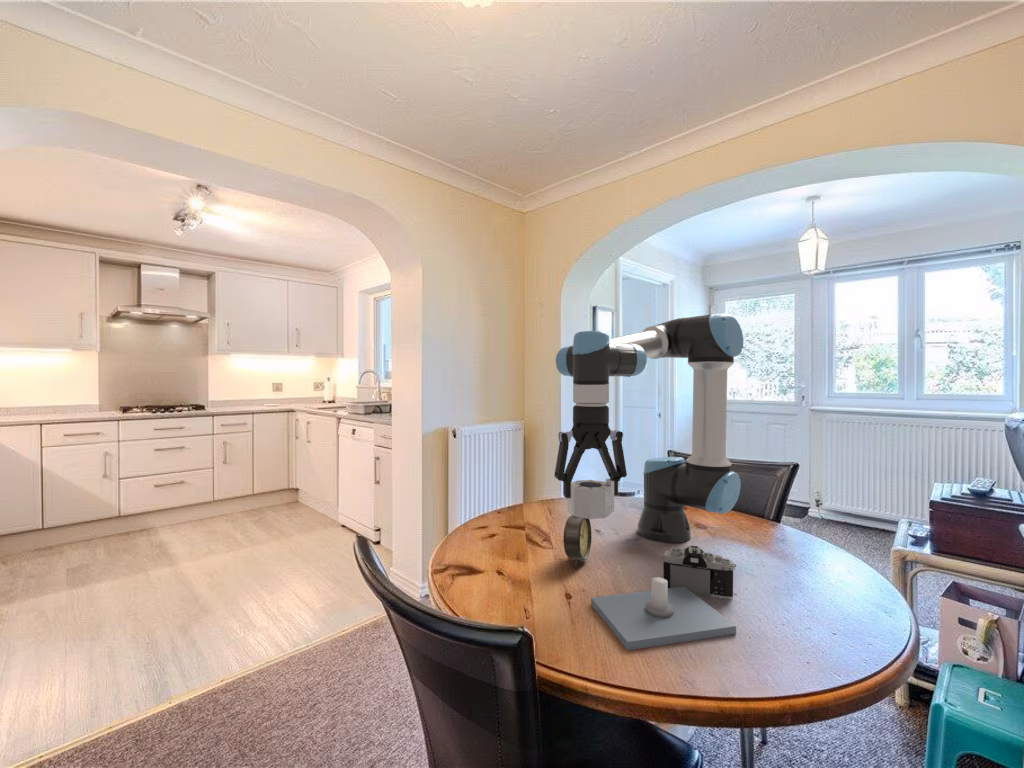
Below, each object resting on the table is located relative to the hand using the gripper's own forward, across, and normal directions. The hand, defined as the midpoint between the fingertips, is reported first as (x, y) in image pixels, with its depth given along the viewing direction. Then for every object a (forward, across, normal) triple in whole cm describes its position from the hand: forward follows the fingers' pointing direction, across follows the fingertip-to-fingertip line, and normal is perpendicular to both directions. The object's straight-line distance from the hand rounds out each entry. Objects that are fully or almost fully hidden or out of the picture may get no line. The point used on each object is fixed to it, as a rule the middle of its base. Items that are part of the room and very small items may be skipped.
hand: (590, 511), depth 95 cm
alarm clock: (+19, -4, -19) cm, 28 cm away
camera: (+19, -26, 0) cm, 32 cm away
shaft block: (+19, -11, +10) cm, 24 cm away
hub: (0, 0, 0) cm, 0 cm away
